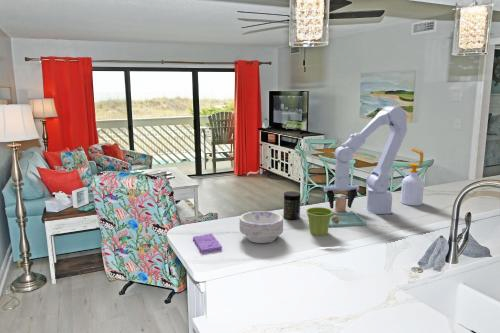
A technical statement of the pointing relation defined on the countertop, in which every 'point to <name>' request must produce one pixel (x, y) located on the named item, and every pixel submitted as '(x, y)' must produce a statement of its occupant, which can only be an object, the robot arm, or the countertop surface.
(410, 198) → the soap bottle
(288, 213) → the supplement container
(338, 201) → the shaker
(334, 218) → the ball
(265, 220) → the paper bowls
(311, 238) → the countertop surface
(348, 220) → the tray
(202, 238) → the sponges
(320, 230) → the plant pot
